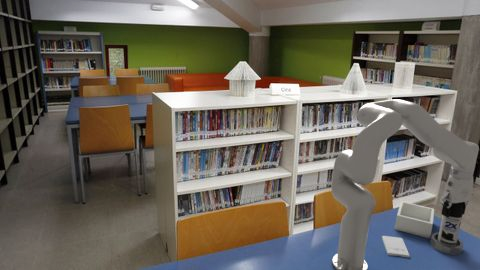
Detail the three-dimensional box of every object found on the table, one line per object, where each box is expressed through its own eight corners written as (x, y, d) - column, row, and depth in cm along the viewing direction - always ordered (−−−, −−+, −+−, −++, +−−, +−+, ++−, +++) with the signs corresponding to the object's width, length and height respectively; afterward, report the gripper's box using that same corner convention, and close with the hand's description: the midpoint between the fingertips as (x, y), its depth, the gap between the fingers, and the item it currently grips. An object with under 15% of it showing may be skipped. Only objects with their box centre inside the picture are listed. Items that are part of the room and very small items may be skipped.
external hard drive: (401, 241, 149) (409, 258, 138) (381, 238, 151) (387, 256, 139) (402, 237, 149) (410, 255, 137) (382, 235, 150) (387, 252, 139)
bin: (429, 238, 151) (432, 224, 149) (394, 229, 157) (396, 215, 156) (431, 222, 164) (434, 208, 162) (399, 214, 171) (401, 201, 169)
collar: (461, 257, 138) (463, 251, 137) (429, 248, 143) (431, 242, 143) (461, 244, 147) (462, 237, 147) (431, 236, 153) (432, 229, 152)
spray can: (436, 248, 144) (445, 203, 139) (436, 240, 150) (445, 197, 144) (455, 253, 141) (465, 207, 136) (454, 244, 147) (464, 200, 141)
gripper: (453, 179, 130) (444, 222, 135) (486, 174, 136) (477, 215, 141) (436, 172, 137) (428, 213, 142) (468, 167, 143) (460, 207, 148)
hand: (452, 214), depth 141 cm, fingers open, 7 cm apart
